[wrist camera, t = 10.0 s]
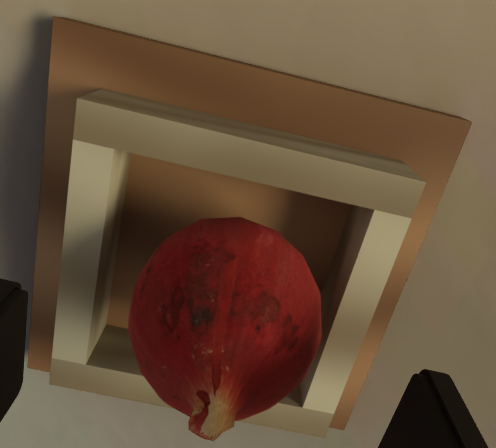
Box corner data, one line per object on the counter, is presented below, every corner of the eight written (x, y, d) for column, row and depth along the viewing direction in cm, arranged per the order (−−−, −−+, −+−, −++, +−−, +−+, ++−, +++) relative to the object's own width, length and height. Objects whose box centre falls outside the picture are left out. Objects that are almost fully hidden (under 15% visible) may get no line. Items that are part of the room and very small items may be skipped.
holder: (65, 17, 16) (15, 14, 12) (460, 117, 17) (509, 137, 14) (37, 352, 21) (-3, 412, 18) (340, 413, 22) (354, 479, 19)
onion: (145, 192, 17) (53, 321, 10) (306, 178, 17) (338, 302, 9) (171, 327, 19) (113, 516, 12) (314, 318, 19) (345, 508, 11)
